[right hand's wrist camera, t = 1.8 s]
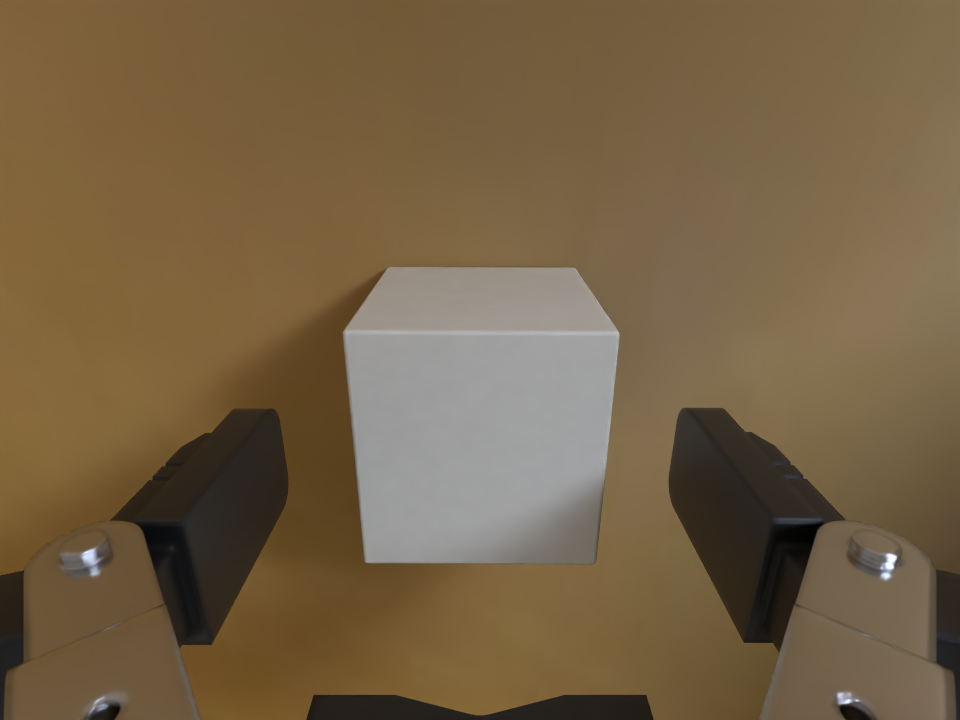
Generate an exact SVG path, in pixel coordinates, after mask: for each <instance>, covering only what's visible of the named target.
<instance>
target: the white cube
mask: <svg viewBox="0 0 960 720" xmlns="http://www.w3.org/2000/svg"><path fill="white" fill-rule="evenodd" d="M619 337H620V334H619V332H618V330H617V329H616V327H615V326H614V324H613V323H612V321H611V320H610V318H609V317H608V315H607V314H606V312H605V311H604V310H603V308H602V307H601V305H600V304H599V302H598V301H597V299H596V298H595V296H594V295H593V293H592V292H591V290H590V289H589V288H588V286H587V285H586V283H585V282H584V280H583V279H582V277H581V276H580V274H579V273H578V271H577V270H576V269H575V268H535V267H388V268H387V269H386V271H385V272H384V273H383V275H382V276H381V278H380V279H379V281H378V282H377V283H376V285H375V286H374V288H373V289H372V291H371V292H370V294H369V295H368V296H367V298H366V299H365V301H364V302H363V304H362V305H361V306H360V308H359V309H358V311H357V312H356V314H355V315H354V317H353V318H352V319H351V321H350V322H349V324H348V325H347V327H346V328H345V329H344V331H343V343H344V354H345V364H346V375H347V385H348V396H349V406H350V416H351V427H352V437H353V448H354V458H355V469H356V479H357V490H358V500H359V510H360V521H361V531H362V542H363V552H364V560H365V562H366V563H420V564H595V562H596V558H597V549H598V539H599V529H600V520H601V510H602V501H603V491H604V481H605V472H606V462H607V452H608V443H609V433H610V424H611V414H612V404H613V395H614V385H615V376H616V366H617V356H618V347H619Z"/></svg>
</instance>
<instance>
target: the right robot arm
mask: <svg viewBox="0 0 960 720" xmlns="http://www.w3.org/2000/svg"><path fill="white" fill-rule="evenodd" d="M669 493H670V498H671V502H672V505H673V507H674V510H675V511H676V513H677V515H678V517H679V519H680V521H681V523H682V525H683V527H684V529H685V531H686V532H687V534H688V536H689V538H690V540H691V542H692V544H693V546H694V548H695V550H696V552H697V554H698V555H699V557H700V559H701V561H702V563H703V565H704V567H705V569H706V571H707V573H708V575H709V576H710V578H711V580H712V582H713V584H714V586H715V588H716V590H717V592H718V594H719V596H720V598H721V599H722V601H723V603H724V605H725V607H726V609H727V611H728V613H729V615H730V617H731V619H732V620H733V622H734V624H735V626H736V628H737V630H738V632H739V634H740V636H741V638H742V640H743V642H744V643H774V645H775V647H776V648H777V650H778V652H779V656H778V659H777V662H776V665H775V669H774V672H773V675H772V679H771V682H770V685H769V688H768V692H767V695H766V698H765V702H764V705H763V708H762V711H761V715H760V718H759V720H960V575H959V574H954V573H949V572H944V571H939V570H936V569H935V567H934V565H933V563H932V562H931V560H930V559H929V558H928V556H927V555H925V554H924V553H923V552H922V551H921V550H920V549H919V548H918V547H916V546H915V545H914V544H912V543H911V542H909V541H907V540H906V539H904V538H902V537H900V536H899V535H897V534H894V533H892V532H890V531H888V530H885V529H882V528H880V527H877V526H873V525H870V524H866V523H861V522H855V521H846V520H845V519H844V518H843V517H842V516H841V515H840V514H839V512H838V511H837V510H836V509H835V508H834V507H833V506H832V505H831V504H830V503H829V502H828V501H827V500H826V499H825V498H824V497H823V496H822V495H821V494H820V493H819V492H818V490H817V489H816V488H815V487H814V486H813V485H812V484H811V483H810V482H809V481H808V480H807V479H803V475H802V474H801V473H800V472H799V471H798V470H797V469H796V467H795V466H794V465H790V461H789V460H788V459H787V458H786V457H785V456H784V455H783V454H782V453H781V452H780V451H779V450H778V449H777V448H776V447H775V446H774V445H772V444H771V443H769V442H767V441H765V440H764V439H762V438H760V437H759V436H757V435H755V434H753V433H752V432H744V430H743V429H742V428H741V427H740V426H739V425H738V424H737V423H736V422H735V420H734V419H733V418H732V417H731V416H730V415H729V414H728V413H727V412H726V410H724V409H723V408H683V409H682V410H681V411H680V413H679V415H678V419H677V425H676V432H675V438H674V445H673V452H672V459H671V466H670V472H669ZM287 494H288V473H287V466H286V459H285V453H284V446H283V439H282V433H281V426H280V420H279V416H278V414H277V412H276V411H275V410H274V409H234V410H232V411H231V412H230V413H229V414H228V415H227V416H226V417H225V419H224V420H223V421H222V422H221V423H220V424H219V425H218V426H217V427H216V428H215V430H214V431H213V432H212V433H205V434H203V435H201V436H200V437H198V438H196V439H194V440H193V441H191V442H189V443H187V444H186V445H184V446H182V447H181V448H180V449H179V450H178V451H177V452H176V453H175V454H174V455H173V456H172V457H171V458H170V459H169V460H168V461H167V462H166V466H163V467H162V468H161V469H160V470H159V471H158V472H157V473H156V474H155V475H154V476H153V480H149V481H148V482H147V483H146V484H145V485H144V486H143V487H142V488H141V489H140V490H139V491H138V492H137V494H136V495H135V496H134V497H133V498H132V499H131V500H130V501H129V502H128V503H127V504H126V505H125V506H124V507H123V508H122V509H121V510H120V511H119V512H118V513H117V514H116V515H115V516H114V517H113V518H112V519H111V520H110V521H105V522H99V523H94V524H90V525H87V526H83V527H80V528H78V529H75V530H72V531H70V532H68V533H66V534H63V535H61V536H60V537H58V538H56V539H54V540H53V541H51V542H49V543H48V544H46V545H45V546H44V547H42V548H41V549H40V550H39V551H38V552H37V553H36V554H35V555H33V556H32V558H31V559H30V560H29V562H28V563H27V565H26V567H25V569H24V571H20V572H15V573H10V574H5V575H1V576H0V720H201V718H200V715H199V711H198V708H197V705H196V702H195V698H194V695H193V692H192V688H191V685H190V682H189V679H188V675H187V672H186V669H185V665H184V662H183V659H182V656H181V652H180V648H181V646H182V645H212V643H213V641H214V639H215V637H216V635H217V634H218V632H219V630H220V628H221V626H222V624H223V622H224V620H225V618H226V617H227V615H228V613H229V611H230V609H231V607H232V605H233V603H234V601H235V600H236V598H237V596H238V594H239V592H240V590H241V588H242V586H243V584H244V583H245V581H246V579H247V577H248V575H249V573H250V571H251V569H252V567H253V565H254V564H255V562H256V560H257V558H258V556H259V554H260V552H261V550H262V548H263V547H264V545H265V543H266V541H267V539H268V537H269V535H270V533H271V531H272V530H273V528H274V526H275V524H276V522H277V520H278V518H279V516H280V514H281V513H282V511H283V509H284V506H285V503H286V500H287ZM307 720H653V716H652V713H651V710H650V706H649V703H648V699H647V696H646V695H563V696H559V697H555V698H551V699H547V700H544V701H540V702H536V703H532V704H528V705H524V706H520V707H517V708H513V709H509V710H505V711H501V712H497V713H493V714H489V715H484V716H476V715H471V714H467V713H463V712H459V711H455V710H451V709H447V708H443V707H440V706H436V705H432V704H428V703H424V702H420V701H416V700H413V699H409V698H405V697H401V696H397V695H314V696H313V699H312V703H311V706H310V710H309V713H308V716H307Z"/></svg>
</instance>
